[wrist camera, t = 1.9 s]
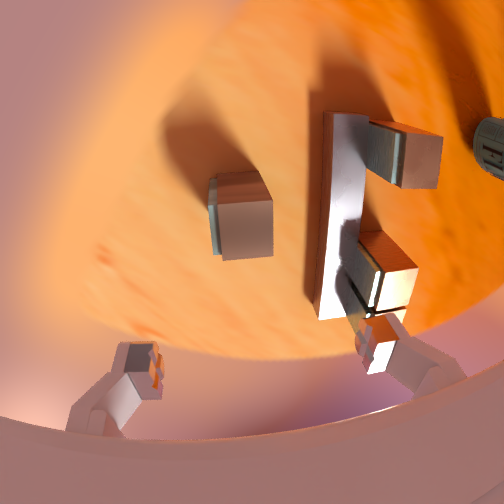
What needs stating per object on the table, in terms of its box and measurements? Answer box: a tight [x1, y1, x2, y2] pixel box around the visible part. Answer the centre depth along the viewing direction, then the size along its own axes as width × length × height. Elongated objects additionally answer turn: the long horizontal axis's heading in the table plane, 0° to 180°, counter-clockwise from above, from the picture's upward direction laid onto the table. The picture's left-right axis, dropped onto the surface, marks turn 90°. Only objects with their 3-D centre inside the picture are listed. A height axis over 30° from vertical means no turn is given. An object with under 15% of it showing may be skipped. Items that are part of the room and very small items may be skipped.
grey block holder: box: [313, 111, 443, 334], centre depth 25 cm, size 20×7×7 cm, turn 2°
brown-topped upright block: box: [208, 171, 273, 261], centre depth 22 cm, size 4×4×7 cm
